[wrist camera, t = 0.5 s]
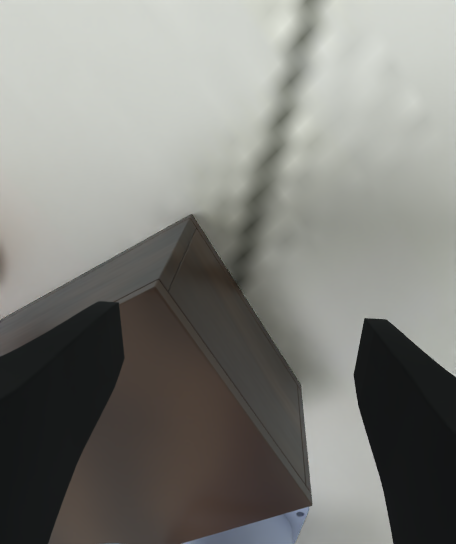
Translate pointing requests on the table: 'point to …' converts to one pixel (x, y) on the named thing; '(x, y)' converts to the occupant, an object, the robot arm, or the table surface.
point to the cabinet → (178, 401)
